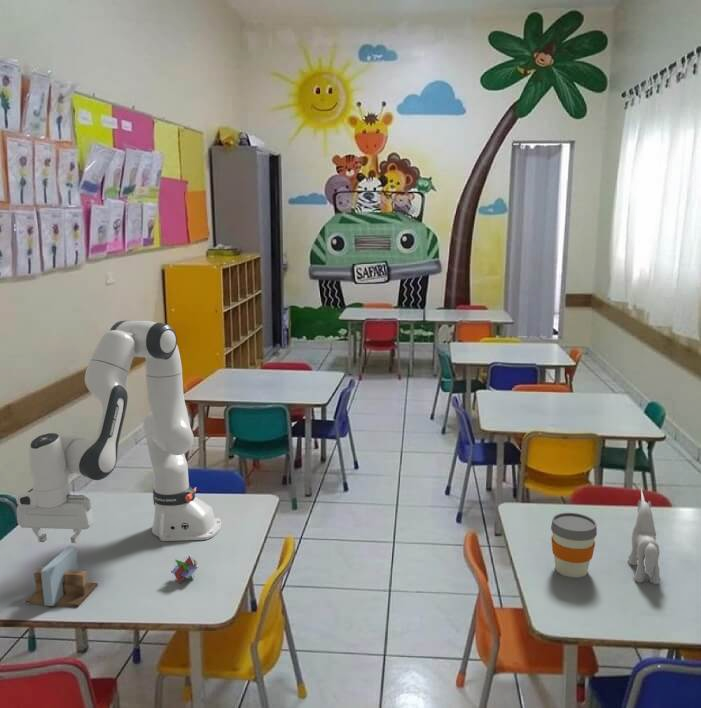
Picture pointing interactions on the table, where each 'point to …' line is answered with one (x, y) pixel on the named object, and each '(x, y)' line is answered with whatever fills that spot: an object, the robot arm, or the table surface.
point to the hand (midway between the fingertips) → (58, 541)
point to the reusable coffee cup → (573, 543)
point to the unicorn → (645, 544)
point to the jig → (65, 589)
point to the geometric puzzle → (184, 569)
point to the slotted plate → (58, 574)
